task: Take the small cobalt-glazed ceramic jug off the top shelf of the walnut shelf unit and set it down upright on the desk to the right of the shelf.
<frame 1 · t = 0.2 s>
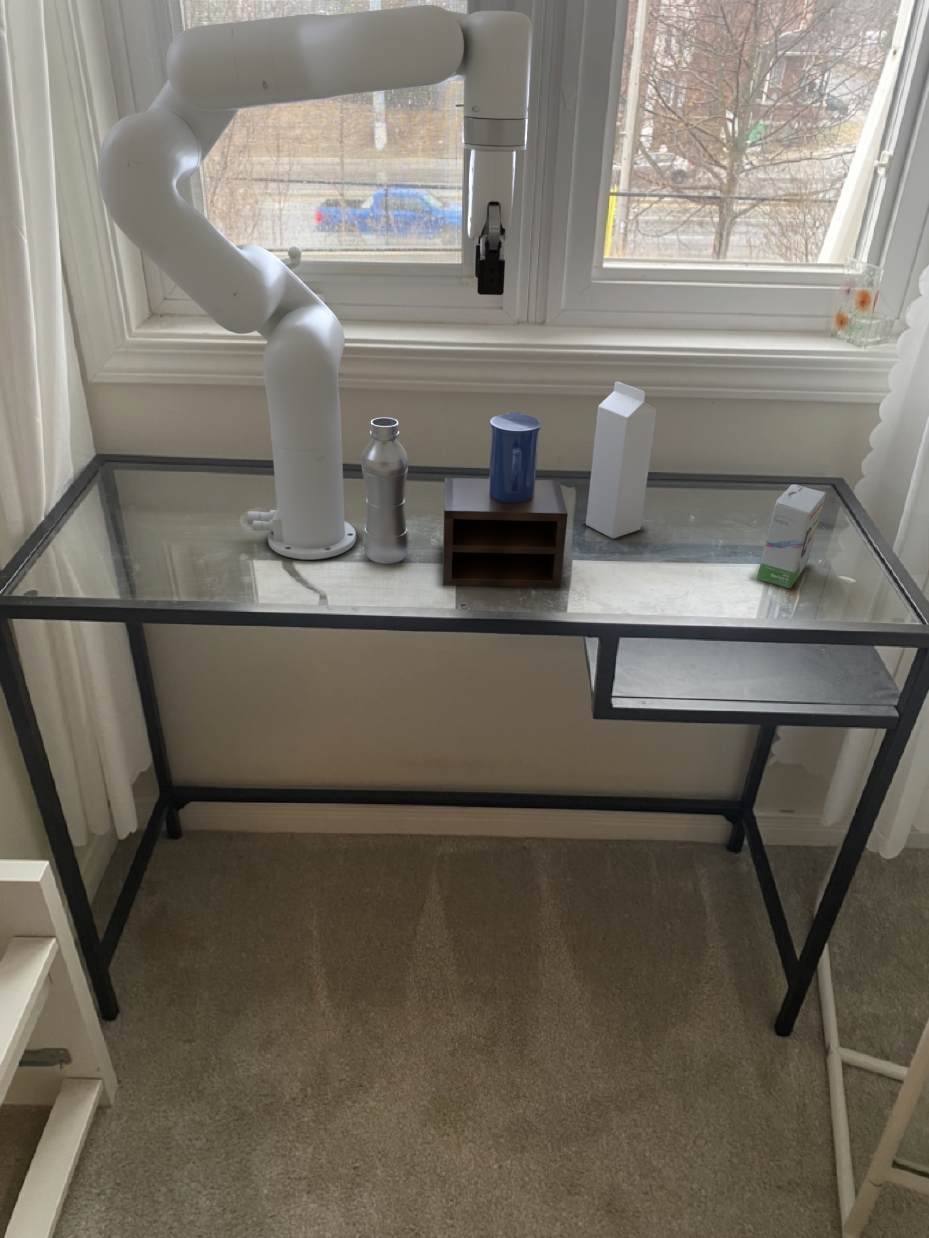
hand: (488, 285, 122), 37 cm above the table, tool pointing down, fingers open, 9 cm apart
jug: (511, 493, 130), point 11 cm above the table, touching shelf
ink box: (782, 574, 136), on the table
milk: (612, 528, 147), on the table
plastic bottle: (386, 559, 136), on the table
shelf: (499, 567, 135), on the table
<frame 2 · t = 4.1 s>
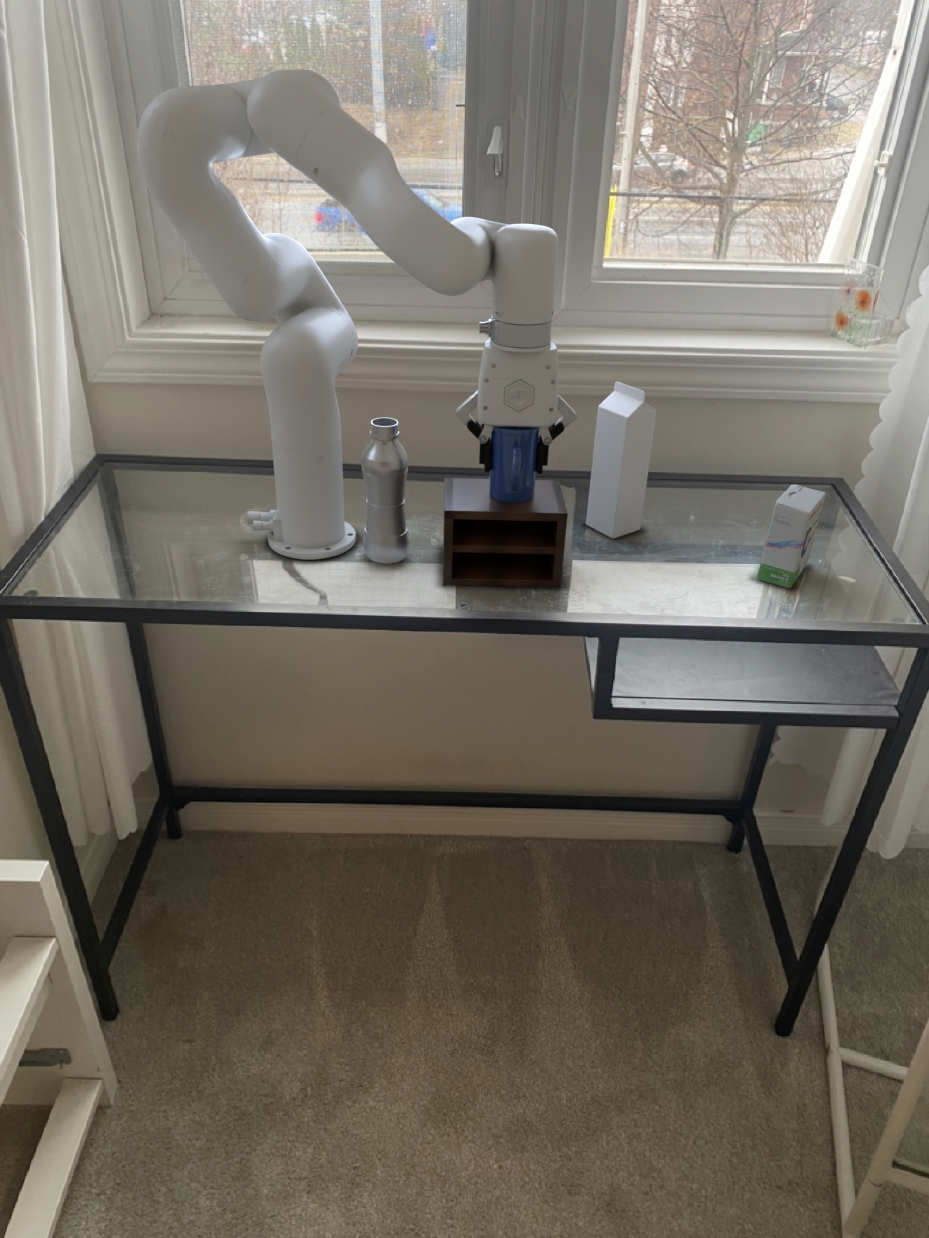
hand: (512, 468, 128), 15 cm above the table, tool pointing down, fingers closed on jug, 6 cm apart
jug: (511, 493, 130), point 11 cm above the table, touching gripper, shelf
everything else where it was.
when the fingers open (4 cm above the table, at t = 11.2 s): jug stays where it is, on the table.
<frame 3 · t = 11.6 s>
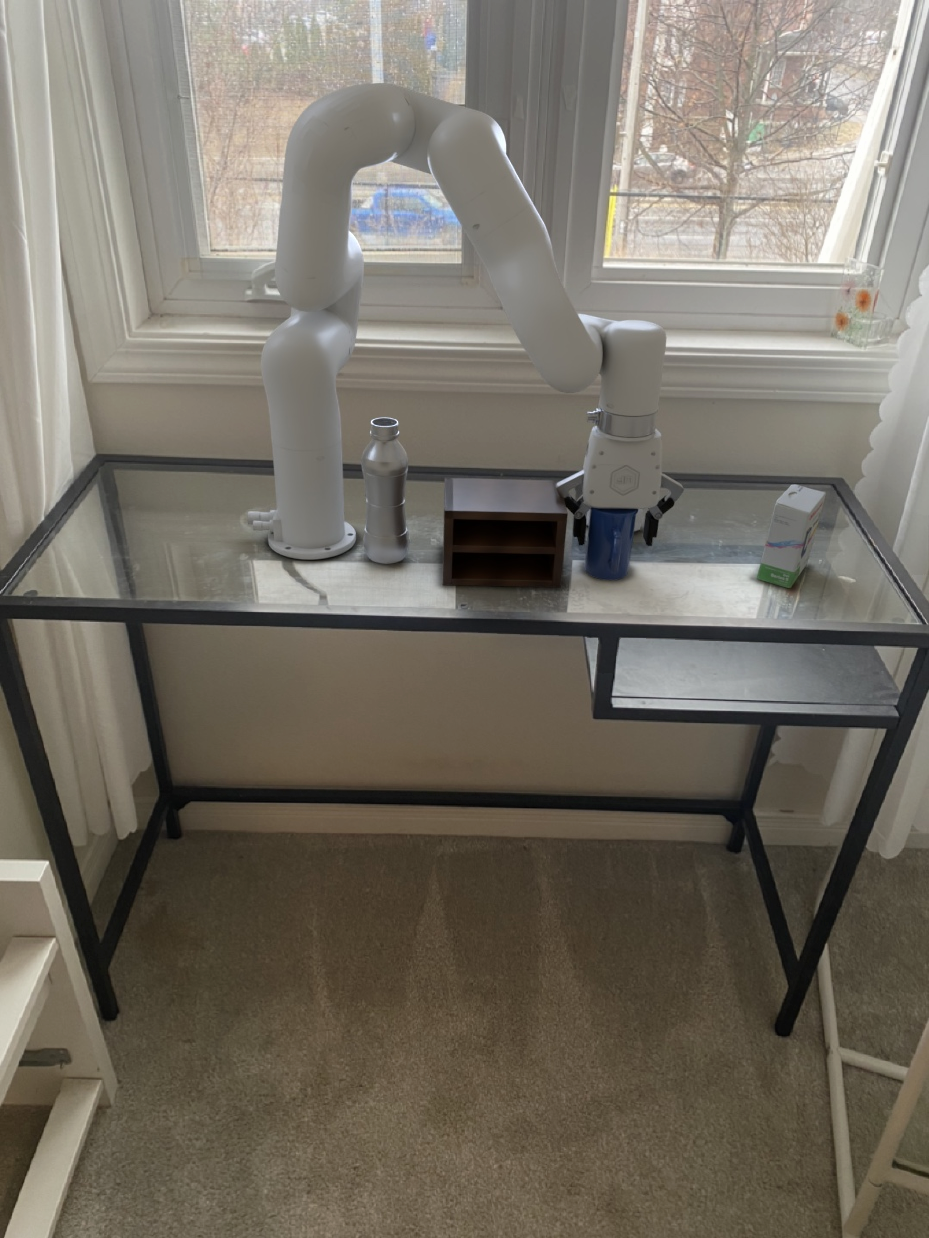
hand: (613, 541, 133), 4 cm above the table, tool pointing down, fingers open, 8 cm apart
jug: (606, 569, 135), on the table
everything else where it was.
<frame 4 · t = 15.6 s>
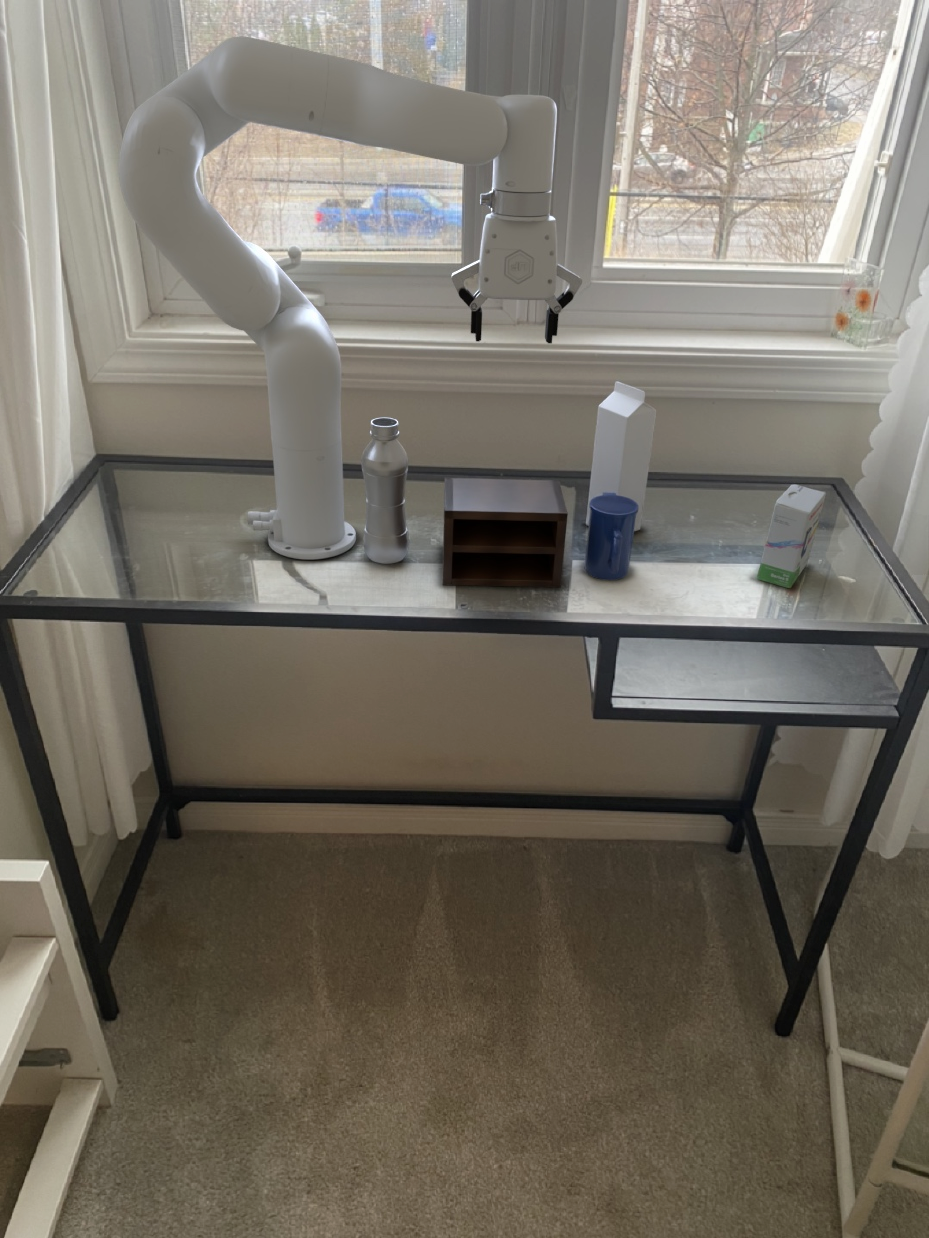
hand: (513, 340, 131), 28 cm above the table, tool pointing down, fingers open, 9 cm apart
nothing on the table moved.
at the end: jug inside the target area (0.0 cm from its centre), on the table; jug tilted 0°; jug touching table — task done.
